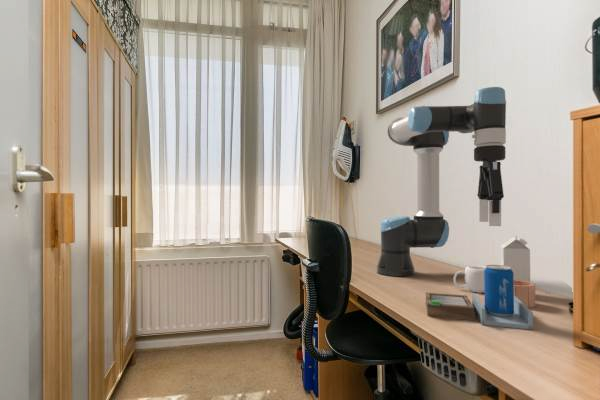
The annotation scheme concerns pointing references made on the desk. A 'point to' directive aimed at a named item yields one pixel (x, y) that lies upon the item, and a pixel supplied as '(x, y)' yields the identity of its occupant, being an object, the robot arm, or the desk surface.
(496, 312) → the beverage can
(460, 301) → the grey flat square plate
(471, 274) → the mug
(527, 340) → the desk surface
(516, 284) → the cup
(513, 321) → the trough
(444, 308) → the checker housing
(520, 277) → the milk carton
